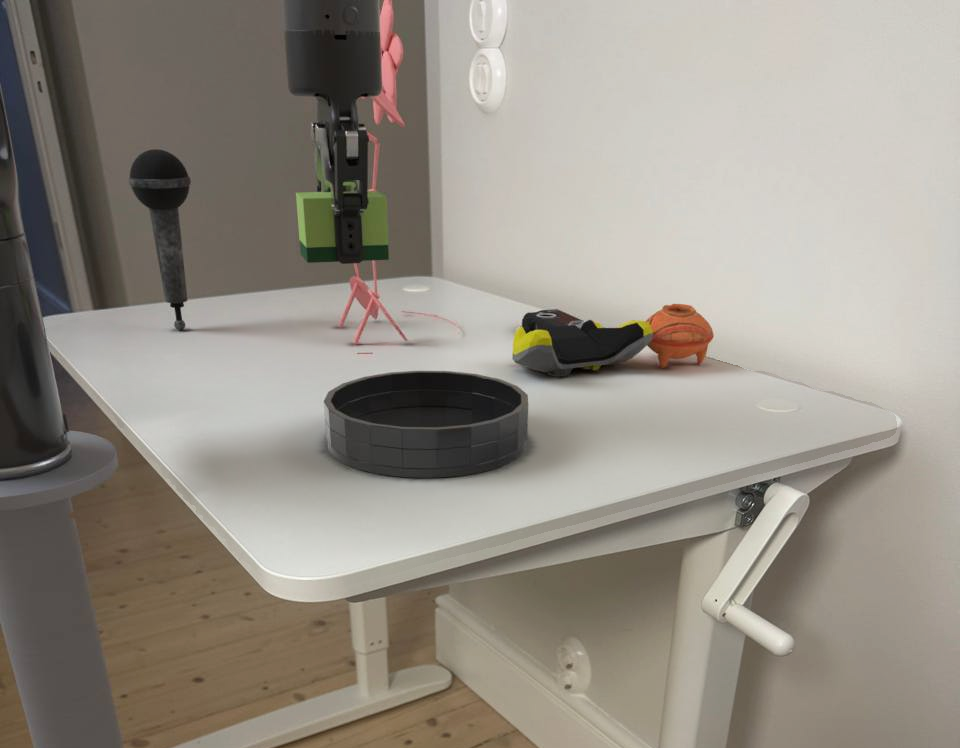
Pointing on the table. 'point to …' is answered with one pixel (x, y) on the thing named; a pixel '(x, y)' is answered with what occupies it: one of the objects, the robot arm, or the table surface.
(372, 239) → the sponge
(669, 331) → the pot
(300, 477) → the table surface
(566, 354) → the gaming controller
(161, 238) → the microphone
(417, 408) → the pan
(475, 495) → the table surface
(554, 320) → the camera
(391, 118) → the figurine
